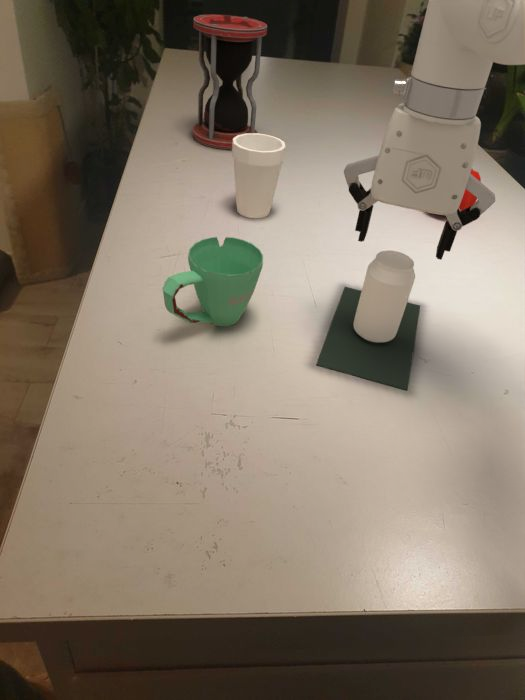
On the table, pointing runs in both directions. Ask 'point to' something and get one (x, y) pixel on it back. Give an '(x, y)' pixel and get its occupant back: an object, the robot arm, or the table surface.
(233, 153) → the foam cup
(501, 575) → the table surface
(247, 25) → the hourglass
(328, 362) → the mat
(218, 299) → the mug
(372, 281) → the beverage can
